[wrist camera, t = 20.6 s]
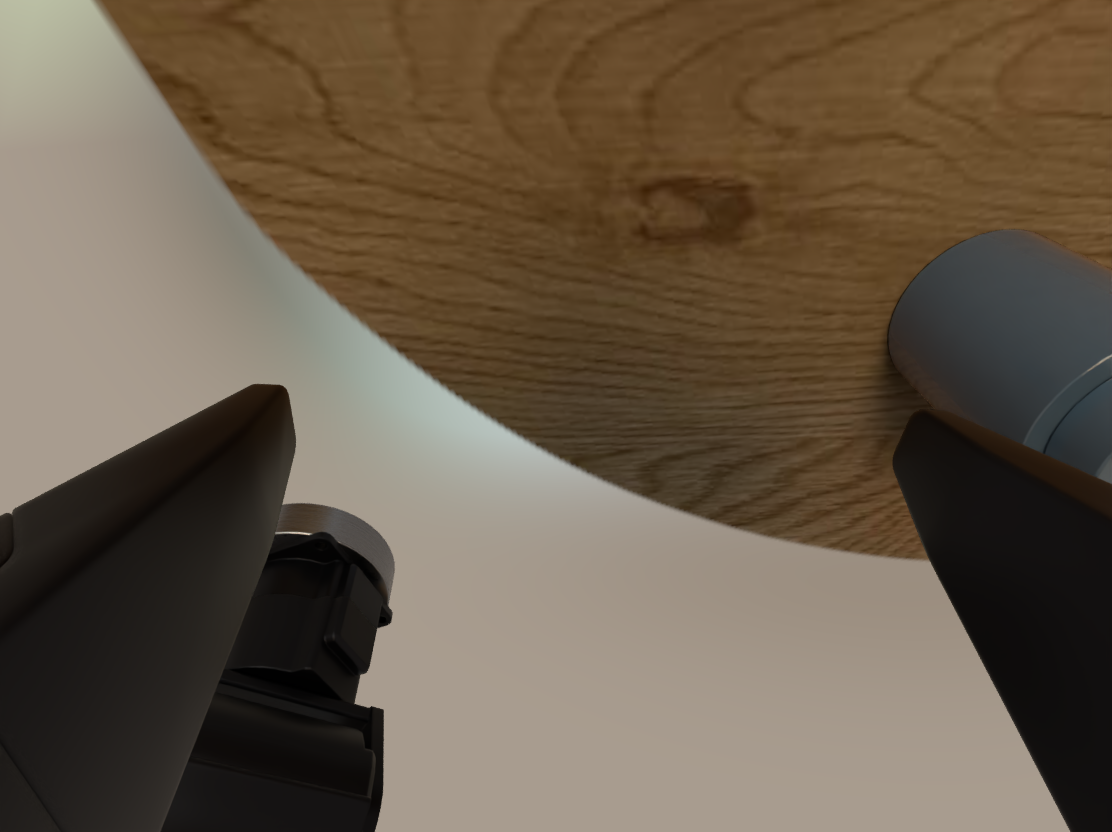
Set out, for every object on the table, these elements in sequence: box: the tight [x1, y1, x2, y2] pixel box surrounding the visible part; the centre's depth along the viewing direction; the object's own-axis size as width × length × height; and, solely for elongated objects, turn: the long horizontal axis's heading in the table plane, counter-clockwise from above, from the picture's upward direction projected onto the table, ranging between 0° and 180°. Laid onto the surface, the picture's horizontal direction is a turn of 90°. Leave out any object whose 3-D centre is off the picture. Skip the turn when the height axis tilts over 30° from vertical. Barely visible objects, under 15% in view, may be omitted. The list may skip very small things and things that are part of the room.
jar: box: [888, 229, 1112, 484], centre depth 19 cm, size 6×6×9 cm
